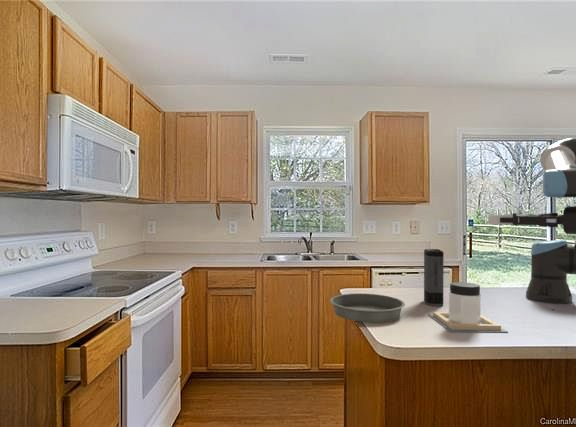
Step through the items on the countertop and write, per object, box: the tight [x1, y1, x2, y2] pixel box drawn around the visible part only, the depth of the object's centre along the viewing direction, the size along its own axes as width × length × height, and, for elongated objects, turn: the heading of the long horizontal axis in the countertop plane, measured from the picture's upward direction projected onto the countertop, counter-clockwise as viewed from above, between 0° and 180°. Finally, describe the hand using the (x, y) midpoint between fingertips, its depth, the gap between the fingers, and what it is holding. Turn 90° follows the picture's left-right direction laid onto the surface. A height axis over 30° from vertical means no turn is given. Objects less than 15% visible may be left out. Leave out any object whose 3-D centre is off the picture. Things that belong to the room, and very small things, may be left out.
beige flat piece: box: [428, 311, 509, 334], centre depth 118 cm, size 16×18×2 cm
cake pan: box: [329, 293, 406, 323], centre depth 129 cm, size 25×25×4 cm
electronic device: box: [423, 248, 445, 307], centre depth 145 cm, size 9×6×20 cm, turn 168°
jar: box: [448, 281, 481, 324], centre depth 116 cm, size 9×8×12 cm
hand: (496, 219), depth 118 cm, fingers open, 13 cm apart
